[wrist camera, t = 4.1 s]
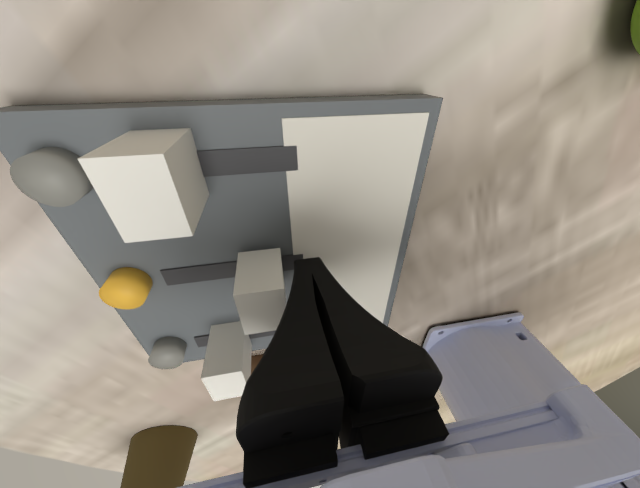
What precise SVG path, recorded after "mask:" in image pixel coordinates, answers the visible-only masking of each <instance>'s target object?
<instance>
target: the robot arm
mask: <svg viewBox="0 0 640 488" xmlns="http://www.w3.org/2000/svg"><path fill="white" fill-rule="evenodd" d="M523 318H524V315H522V314H521V313H512V314H506V315H501V316H495V317H489V318H483V319H478V320H472V321H466V322H460V323H455V324H449V325H443V326H437V327H433V328H431V329H430V330H429V332H428V334H427V337H426V339H425V342H424V344H423V347H420V346H419V345H417V344H415V343H413V342H411V341H410V340H408V339H406V338H404V337H403V336H401V335H399V334H398V333H396V332H395V331H393V330H392V329H390V328H389V327H387V326H386V325H385V324H383V323H382V322H381V321H379V320H378V319H376V318H375V317H374V316H373V315H371V314H370V313H369V312H368V311H366V310H365V309H364V308H363V307H362V306H361V305H360V304H358V303H357V302H356V301H355V300H354V299H353V298H352V297H351V296H350V295H349V294H348V293H347V292H346V291H345V289H344V288H343V287H342V286H341V285H340V284H339V283H338V281H337V280H336V279H335V278H334V277H333V275H332V274H331V273H330V271H329V270H328V269H327V267H326V266H325V264H324V263H323V261H322V260H321V258H319V257H315V258H306V259H298V260H295V261H294V275H293V281H292V286H291V290H290V294H289V297H288V301H287V304H286V307H285V310H284V313H283V315H282V318H281V320H280V323H279V325H278V327H277V329H276V332H275V334H274V336H273V338H272V340H271V342H270V344H269V345H268V347H267V349H266V351H265V353H264V354H263V356H262V358H261V360H260V361H259V363H258V365H257V366H256V368H255V369H254V371H253V372H252V374H251V375H250V377H249V378H248V380H247V382H246V385H245V388H244V391H243V394H242V397H241V401H240V405H239V409H238V415H237V427H236V436H237V440H238V441H239V443H240V445H241V447H242V449H243V451H244V468H243V472H240V473H236V474H232V475H228V476H223V477H219V478H215V479H211V480H206V481H202V482H198V483H194V484H189V485H185V486H181V487H177V488H311V487H315V486H319V485H322V486H321V487H320V488H640V438H639V437H638V436H637V435H636V434H635V433H634V432H633V431H632V430H631V429H630V428H629V427H628V426H627V425H626V424H625V423H624V422H623V421H622V420H621V419H620V418H619V417H618V416H617V415H616V414H615V413H614V412H613V411H612V410H611V409H610V408H609V407H608V406H606V404H605V403H604V402H603V401H602V400H601V399H600V398H599V397H598V396H597V395H596V394H595V393H594V392H593V391H592V390H591V389H590V388H589V387H588V386H587V385H584V384H580V382H579V381H578V380H577V379H576V378H575V377H574V376H573V375H572V374H571V373H570V372H569V371H568V370H567V369H566V368H565V367H564V366H563V365H562V364H561V363H560V362H559V361H558V360H557V359H556V358H555V357H554V356H553V355H552V354H551V353H550V352H549V351H548V349H547V348H546V347H545V346H544V345H543V344H542V343H541V342H540V341H539V340H538V339H537V338H536V337H535V336H534V335H533V334H532V333H531V332H530V331H529V330H528V329H527V328H526V327H525V326H524V325H523V324H522V323H521V321H522V319H523ZM438 389H439V390H440V392H441V394H442V396H443V398H444V400H445V401H446V403H447V405H448V407H449V409H450V411H451V413H452V414H453V416H454V418H455V420H456V422H453V423H448V424H444V422H443V420H442V418H441V416H440V414H439V412H438V410H439V405H438V403H437V401H436V399H435V397H434V396H435V394H436V392H437V391H438ZM338 438H339V440H340V446H341V449H338V450H337V447H338ZM323 484H324V485H323Z"/></svg>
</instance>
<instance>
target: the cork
mask: <svg viewBox="0 0 640 488" xmlns="http://www.w3.org/2000/svg"><path fill="white" fill-rule="evenodd" d="M197 436H198V434H197V433H196V431H195V430H193V429H191V428H188V427H184V426H174V425H172V426H159V427H153V428H149V429H146V430H143V431H140V432H139V433H137V434H135V435H134V436H133V437H132V438H131V442H130V446H129V451H128V455H127V460H126V465H125V469H124V474H123V479H122V483H121V488H177V487H181V486H183V484H184V481H185V477H186V474H187V471H188V467H189V464H190V460H191V457H192V453H193V450H194V446H195V443H196V439H197Z"/></svg>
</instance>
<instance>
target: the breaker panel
mask: <svg viewBox="0 0 640 488" xmlns="http://www.w3.org/2000/svg"><path fill="white" fill-rule="evenodd" d="M442 100H443V98H441V97H436V96H431V95H426V94H408V95H374V96H339V97H304V98H269V99H235V100H200V101H165V102H130V103H96V104H61V105H26V106H8V107H2V108H0V151H1V153H2V154H3V155H4V157H5V158H6V160H7V161H8V162H9V164H10V165H11V167H10V174H11V177H12V180H13V182H14V183H15V185H16V186H17V187H18V188H19V189H20V190H21V191H22V192H23V193H24V194H25V195H27V196H28V197H30V198H32V199H33V200H35V201H37V202H38V204H39V205H40V206H41V208H42V209H43V210H44V212H45V213H46V215H47V216H48V217H49V219H50V220H51V221H52V223H53V224H54V226H55V227H56V228H57V230H58V231H59V233H60V234H61V235H62V237H63V238H64V239H65V241H66V242H67V244H68V245H69V246H70V248H71V249H72V250H73V252H74V253H75V255H76V256H77V257H78V259H79V260H80V261H81V263H82V264H83V266H84V267H85V268H86V270H87V271H88V272H89V274H90V275H91V277H92V278H93V279H94V281H95V282H96V283H97V285H98V286H99V288H100V290H99V296H100V298H101V299H102V301H104V302H105V303H106V304H108V305H110V306H112V307H114V308H115V310H116V311H117V312H118V314H119V315H120V316H121V318H122V319H123V321H124V322H125V323H126V325H127V326H128V327H129V329H130V330H131V332H132V333H133V334H134V336H135V337H136V338H137V340H138V341H139V343H140V344H141V345H142V347H143V348H144V349H145V351H146V352H147V354H148V355H149V356H150V357H149V359H148V361H149V363H150V365H152V366H153V367H156V368H159V369H172V368H176V367H178V366H180V365H181V364H182V363H183V362H189V361H195V360H201V359H205V360H204V365H203V370H202V375H201V379H202V381H203V383H204V385H205V386H206V388H207V390H208V392H209V394H210V395H211V397H212V399H213V401H218V400H223V399H229V398H234V397H239V396H242V394H243V391H244V388H245V385H246V382H247V380H248V378H249V377H250V375H251V355H252V351H254V350H260V349H266V348H267V347H268V345H269V344H270V342H271V340H272V338H273V336H274V334H275V332H276V330H274V331H268V332H262V333H256V334H249V335H245V334H244V331H243V327H242V324H241V321H240V317H239V314H238V311H237V307H236V304H235V301H234V297H233V291H234V283H235V275H236V267H237V258H238V252H247V251H256V250H265V249H274V248H280V251H281V259H282V267H283V276H284V284H285V293H286V303H287V301H288V297H289V294H290V290H291V286H292V281H293V275H294V261H295V260H298V259H306V258H315V257H319V258H321V260H322V261H323V263H324V264H325V266H326V267H327V269H328V270H329V271H330V273H331V274H332V275H333V277H334V278H335V279H336V280H337V281H338V283H339V284H340V285H341V286H342V287H343V288H344V289H345V291H346V292H347V293H348V294H349V295H350V296H351V297H352V298H353V299H354V300H355V301H356V302H357V303H358V304H360V305H361V306H362V307H363V308H364V309H365V310H366V311H368V312H369V313H370V314H371V315H373V316H374V317H375V318H376V319H378V320H379V321H381V322H382V323H383V324H385V325H386V326H387V327H388V323H389V319H390V315H391V310H392V306H393V302H394V298H395V294H396V290H397V286H398V282H399V277H400V273H401V269H402V265H403V261H404V257H405V253H406V249H407V244H408V240H409V236H410V232H411V228H412V224H413V220H414V216H415V211H416V207H417V203H418V199H419V195H420V191H421V187H422V183H423V178H424V174H425V170H426V166H427V162H428V158H429V154H430V150H431V146H432V141H433V137H434V133H435V129H436V125H437V121H438V117H439V113H440V108H441V104H442Z"/></svg>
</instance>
